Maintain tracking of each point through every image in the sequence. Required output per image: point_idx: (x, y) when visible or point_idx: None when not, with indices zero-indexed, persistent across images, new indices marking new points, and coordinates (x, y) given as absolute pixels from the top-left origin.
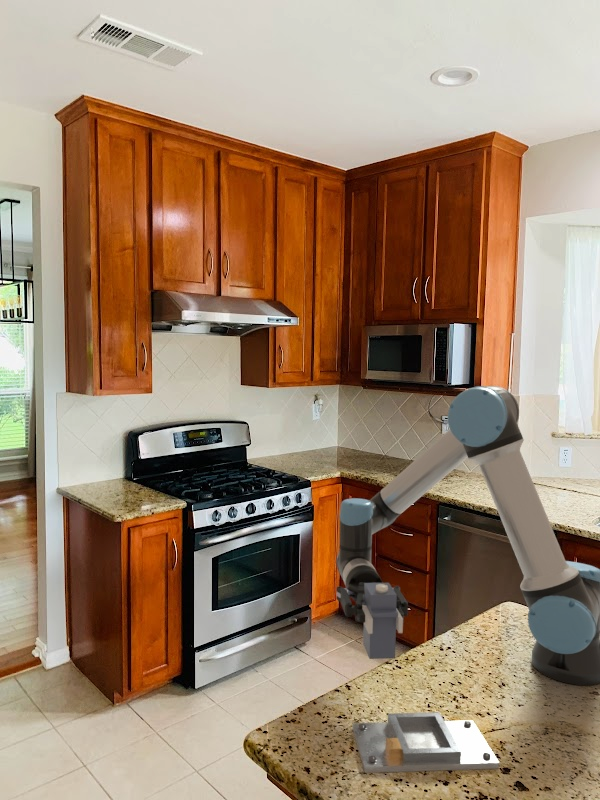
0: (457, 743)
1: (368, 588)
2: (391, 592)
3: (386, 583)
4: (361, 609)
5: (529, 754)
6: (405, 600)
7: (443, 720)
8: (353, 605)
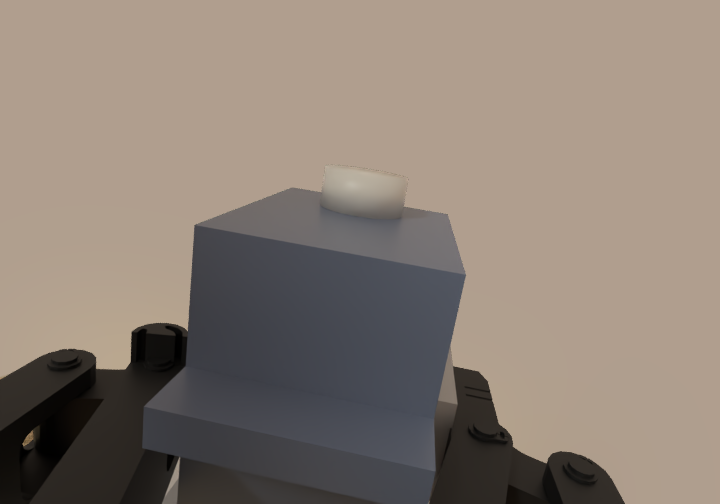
0: (177, 472)
1: (445, 235)
2: (305, 195)
3: (234, 226)
4: (460, 416)
5: (33, 436)
6: (3, 384)
7: (166, 496)
8: (528, 492)
